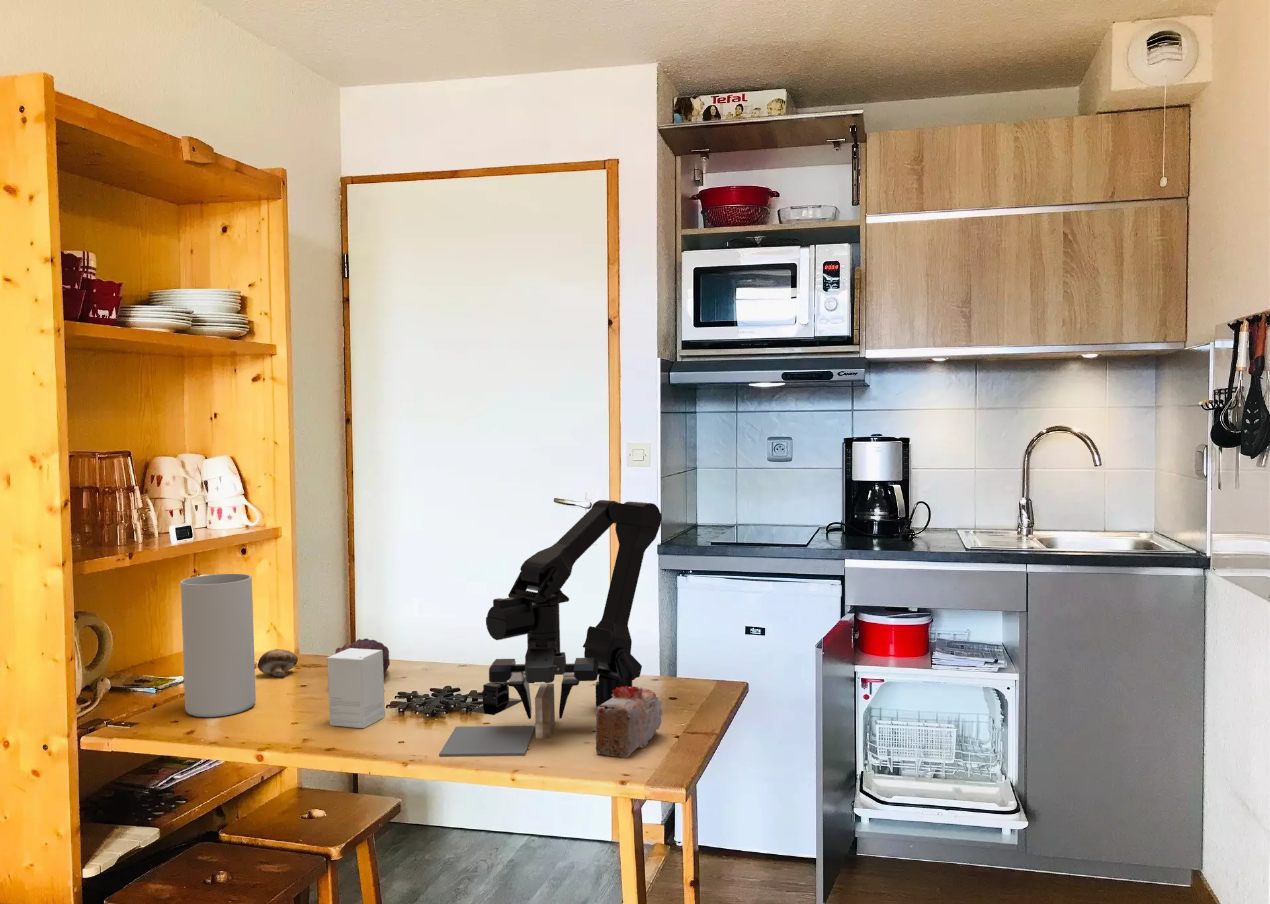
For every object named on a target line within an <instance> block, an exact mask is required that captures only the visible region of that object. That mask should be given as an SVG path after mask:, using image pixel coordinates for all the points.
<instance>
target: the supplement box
mask: <svg viewBox="0 0 1270 904" xmlns="http://www.w3.org/2000/svg"><path fill="white" fill-rule="evenodd" d="M326 663H327V681H328V682H327V685H328V687H327V689H328V690H327V691H328V710H329V711H328V712H329V714H328V715H329V726H331V727H332V726H334V727H343V728H344V727H345V728H353V729H354V728H355V729H365V728H367V727H369V726H371V725H373V724H374V723H377V722H378V721H380V720H383V719H384V718H385V717H386V708H385V705H386V704H385V702H386V701H385V676H384V675H385V674H383V650H372V649H356V648H349V649H346V650H344V651H342V652H339V653H337V654H332V655H330V656H328V657H326Z"/></svg>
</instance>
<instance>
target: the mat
mask: <svg viewBox="0 0 1270 904" xmlns="http://www.w3.org/2000/svg"><path fill="white" fill-rule="evenodd" d="M535 730H536V725H486V726H485V725H480V726H479V725H472V726H471V725H469V726H466V725H465V726H464V725H463V726H455V728H454V729H453V731H452V732H451V734H450V736H449V737H448V738H447V740H446V741H445V744H444V745H443V747H442V749H441V750H440V752H439V754H438V756H439V757H491V756H494V757H495V756H496V757H497V756H499V757H500V756H505V757H506V756H508V757H509V756H525V755H526V753H527V751H528V748H529V746H530V745H529V744H530V742H531V739H532V738H533V737H532V736H533V734H534V731H535Z"/></svg>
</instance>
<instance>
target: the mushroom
mask: <svg viewBox="0 0 1270 904" xmlns="http://www.w3.org/2000/svg"><path fill="white" fill-rule="evenodd" d="M298 661H299V658H298V656H297V655H296V654H295V653H294V652H293V651H291V650H287V649H278V648H275V649H271V650H268V651H266V652H265V653H263V654H262V655H261V657H260V658H259V659H258V663H257V669H258V670H259V671H260V672H261V673H263V674H267V675H269V674H271V675H272V676H275V677H278V678H283V677H286V676H287V675H286V672H288V671H289V670H290V671H291V670H292V669H293V668H295V667H296V665H297V663H298Z"/></svg>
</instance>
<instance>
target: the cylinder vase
mask: <svg viewBox="0 0 1270 904" xmlns="http://www.w3.org/2000/svg"><path fill="white" fill-rule="evenodd" d="M252 577H253V576H252V575H249V574H246V573H220V574H219V573H218V574H207V575H200V576H199V575H198V576H192V577H189V578H184V579H182V580H181V581H180V604H181V626H182V627H181V628H182V629H181V630H182V653H183V681H184V684H183V686H184V710H185V712H186V713H187V714H189V715H190V716H192V717H197V718H198V717H199V718H218V717H226V716H227V717H228V716H231V715H236V714H240V713H243V712H244V711H247V710H249V709H251V708H252V707H253V706H254V705H255V704H256V701H257V699H256V698H257V696H256V695H257V694H256V692H257V689H256V665H255V663H256V661H255V639H254V638H255V636H254V634H255V633H254V610H253V609H254V606H253V582H252V581H253V578H252Z"/></svg>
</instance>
